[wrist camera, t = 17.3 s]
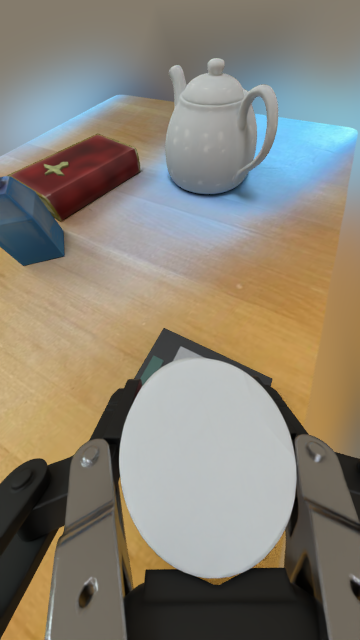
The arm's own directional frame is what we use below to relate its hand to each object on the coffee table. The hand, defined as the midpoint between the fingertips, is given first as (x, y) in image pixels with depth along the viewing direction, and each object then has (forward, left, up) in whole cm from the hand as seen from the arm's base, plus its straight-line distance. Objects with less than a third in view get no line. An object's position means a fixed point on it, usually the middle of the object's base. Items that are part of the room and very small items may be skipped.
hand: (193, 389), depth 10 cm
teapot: (+29, -32, -9) cm, 44 cm away
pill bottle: (-1, +1, -6) cm, 6 cm away
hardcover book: (+44, -11, -9) cm, 46 cm away
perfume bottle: (+32, +3, -9) cm, 33 cm away
